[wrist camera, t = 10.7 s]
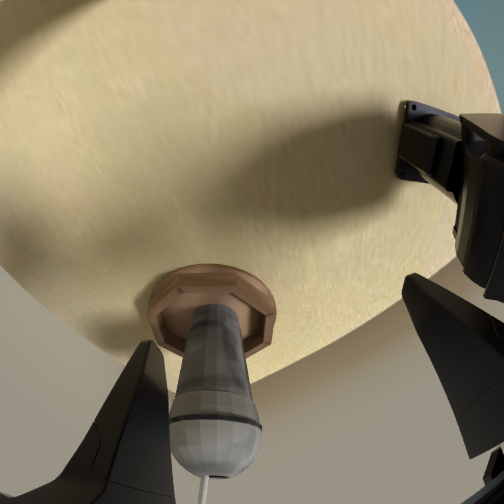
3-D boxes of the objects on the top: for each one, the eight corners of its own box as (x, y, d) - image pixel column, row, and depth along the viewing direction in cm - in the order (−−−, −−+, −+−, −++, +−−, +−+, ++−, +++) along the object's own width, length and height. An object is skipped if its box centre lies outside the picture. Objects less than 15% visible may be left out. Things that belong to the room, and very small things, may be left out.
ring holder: (281, 262, 24) (285, 279, 22) (270, 348, 31) (272, 363, 29) (137, 264, 23) (131, 280, 21) (163, 348, 30) (161, 363, 29)
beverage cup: (246, 343, 29) (260, 527, 13) (179, 337, 28) (166, 524, 12) (259, 296, 25) (286, 531, 9) (178, 288, 24) (153, 530, 8)
